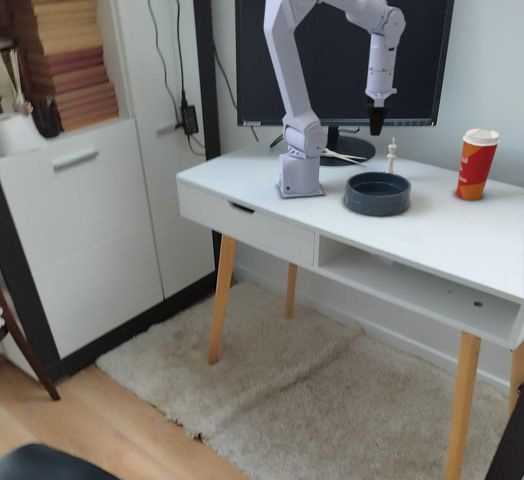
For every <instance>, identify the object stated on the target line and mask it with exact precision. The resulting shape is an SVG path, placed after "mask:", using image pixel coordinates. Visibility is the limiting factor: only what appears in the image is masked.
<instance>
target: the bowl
mask: <svg viewBox="0 0 524 480" xmlns="http://www.w3.org/2000/svg"><path fill="white" fill-rule="evenodd" d="M396 174H397V173H396ZM396 174H393V173H387V172H385V171H365V172H359V173H356V174H353V175H352V176H351V175H350V177H348V179H346V183H345V194H344V195H345V196H344V203H345V205H346V206H347V207H348V208H350V210H352V211H355V212H358V213H360V214H365V215H369V216H389V215H394V214H399V213H401V212H403V211H405V210H406V209H407V208H408V206H409V204H410V196H411V191H412V183H411V181H410V180H409V179H407V178H405V177H404V176H402V175H399V174H398V175H396Z"/></svg>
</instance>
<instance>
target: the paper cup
mask: <svg viewBox="0 0 524 480" xmlns="http://www.w3.org/2000/svg"><path fill="white" fill-rule="evenodd" d="M462 140H463V145H462V151H461V152H462V153H461V158H460V165H459V170H458V178H457V186H456V197H457V198H459V199H461V200H465V201H477V200H480V199H481V198H482V196H483V193H484V189H485V187H486V184H487V181H488V177H489V175H490V174H489V173H490V171H491V168H492V165H493V161H494V158H495V154H496V152H497V151H496V150H497V148H498V145H499V144H500V143H501V139H500V134H499V132H497V131H495V130H492V129H491V130H489V129H485V128H483V129H481V128H472V129H468V130H467V131H466V132H465V135H463V137H462Z"/></svg>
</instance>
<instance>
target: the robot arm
mask: <svg viewBox="0 0 524 480" xmlns="http://www.w3.org/2000/svg"><path fill="white" fill-rule="evenodd" d="M322 2H323V3H325V4H327V5H330V6H333V7H335V8H337V9H339V10H341V11H344V12H345V17H346V19H347V21H348V22H349V23H352V24H354V25H356V26H358V27H360V28H362V29H365V30H366V31H367V33H368V34H369V35H371V36H370V47H369V58H368V69H367V81H366V88H365V93H364V94H365V99H366V101H367V103H365V109H366V112H367V115H368V120H369V134H370V136H371V137H372V136H373V137H380V135H381V133H382V130H383V126H384V123H385V120H386V117H387V115H388V113H389V112H390V111H391V108H392V105H391V104H386V103H387V102H388V100H389V98H390V96H391V95H393V94H394V95H395V94H397V93H398V90H397V88H393V81H394V72H395V64H396V58H397V57H396V55H397V47H398V46H399V44H400V38H401V36H402V34H403V32H404V31H405V27H406V23H407V22H406V21H405V15H404V14H403V11H402V10H401V9H400V8H399V7H395V6H390V5H388V1H387V0H265V7H264V17H263V34H264V36H265V41H266V44H267V48H268V51H269V54H270V57H271V63H272V66H273V69H274V73H275V78H276V80H277V84H278V87H279V91H280V95H281V98H282V102H283V105H284V109H285V110H284V111H285V113H286V114H285V115H284V117H283V118H282V119H281V120H282V124H283V130H282V137H283V140H284V142H285V144H286V145H287V150H288V152H286V153H281V154H279V157H278V187H279V189H280V192H281V195H282V197H283V198H299V197H311V196H312V197H313V196H322V195H324V192H323V191H324V190H323V189H322V187H321V186H320V166H321V164H320V163H321V157H322V156H321V153H324V152H325V151H324V149H325V148H326V147H327V144H328V134H327V132H326V130H325V129H324V128H323V127H322V124H321V120H320V118H319V117H318V116H317V114H316V113H315V112H314V111H313V109H312V107H311V102H310V99H309V98H310V97H309V93H308V90H307V85H306V81H305V77H304V73H303V68H302V64H301V59H300V56H299V51H298V47H297V43H296V39H295V35H294V33H295V30H296V29H297V27H298V25H299V24H300V23H301V22H302V20H304V18H306V16H307V15H308V14H309V12H310V11H311V10H312V9H313V8H314V6H315V5H316V4H321V3H322Z"/></svg>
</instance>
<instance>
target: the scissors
mask: <svg viewBox="0 0 524 480" xmlns="http://www.w3.org/2000/svg"><path fill="white" fill-rule="evenodd" d="M320 157H331V158H332V157H334V158H339V159H342V160H344V161H349V162H352V163H355V164H359V165H362V162H361V163H360V162H358V161H355V160H353V159H363V160H366V158H365V157H360V156H359V157H358V156H353V155H346V154H340V153H337V152H335V151H332V150H329V148H326V147H325V149H324V151H323V152H322V153H321V156H320ZM350 158H353V159H350Z"/></svg>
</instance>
